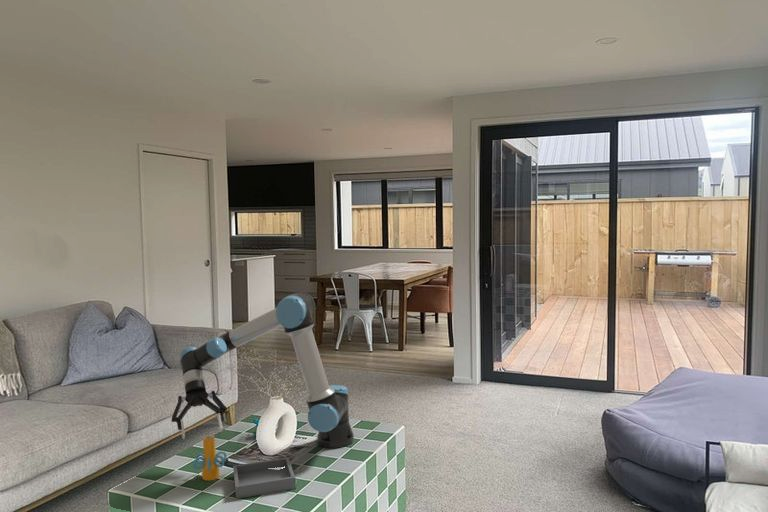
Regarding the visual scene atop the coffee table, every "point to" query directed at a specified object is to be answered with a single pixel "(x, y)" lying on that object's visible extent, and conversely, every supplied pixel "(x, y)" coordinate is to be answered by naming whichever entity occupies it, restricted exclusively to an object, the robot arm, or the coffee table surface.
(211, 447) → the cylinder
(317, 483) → the coffee table surface
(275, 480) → the tray
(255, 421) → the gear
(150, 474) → the coffee table surface
